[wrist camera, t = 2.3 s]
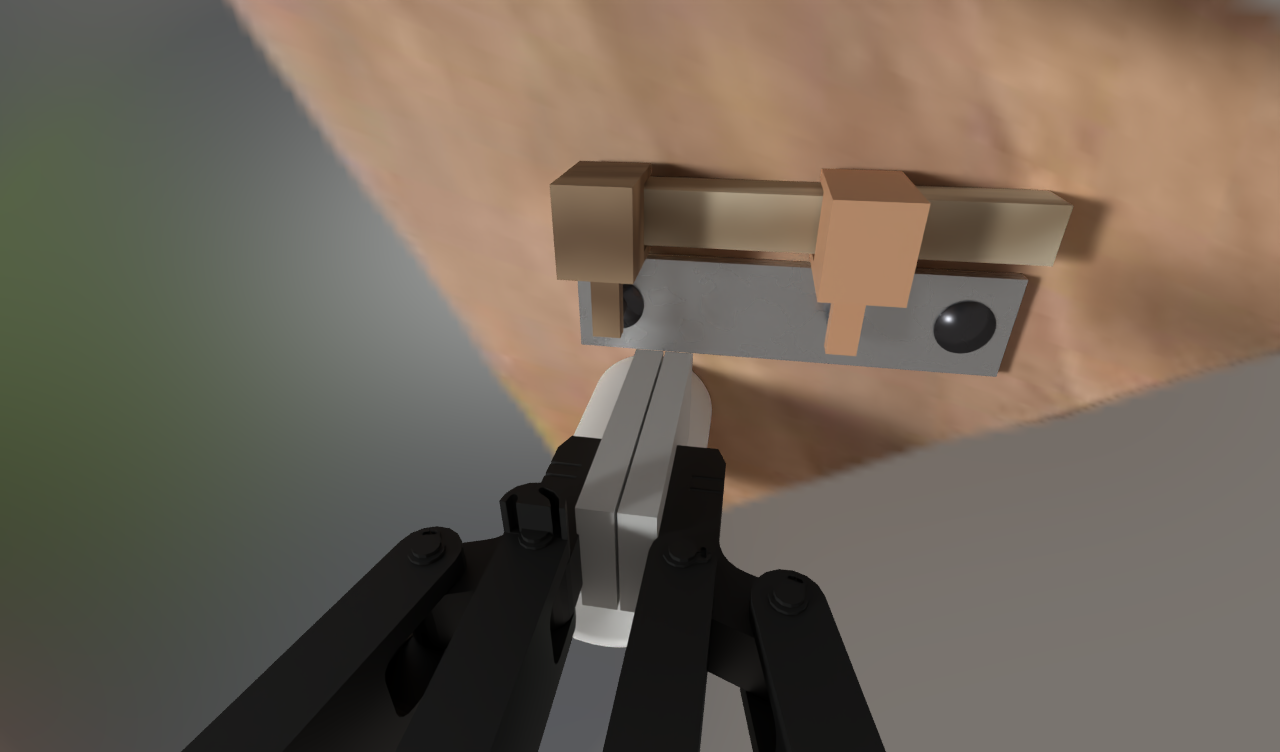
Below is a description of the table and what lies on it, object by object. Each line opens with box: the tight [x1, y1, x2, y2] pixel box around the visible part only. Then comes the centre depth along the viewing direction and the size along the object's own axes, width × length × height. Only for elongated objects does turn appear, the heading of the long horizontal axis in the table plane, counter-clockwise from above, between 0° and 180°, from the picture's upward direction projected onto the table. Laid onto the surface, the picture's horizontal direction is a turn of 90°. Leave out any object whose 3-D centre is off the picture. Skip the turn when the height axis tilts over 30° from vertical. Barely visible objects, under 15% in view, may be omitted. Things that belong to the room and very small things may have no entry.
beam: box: [644, 176, 1073, 266], centre depth 33 cm, size 3×25×3 cm, turn 90°
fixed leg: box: [550, 161, 651, 338], centre depth 34 cm, size 9×4×6 cm, turn 0°
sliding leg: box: [809, 169, 930, 356], centre depth 31 cm, size 9×4×6 cm, turn 0°
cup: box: [573, 356, 712, 647], centre depth 36 cm, size 8×8×16 cm
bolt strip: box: [578, 253, 1028, 377], centre depth 37 cm, size 6×25×1 cm, turn 90°
